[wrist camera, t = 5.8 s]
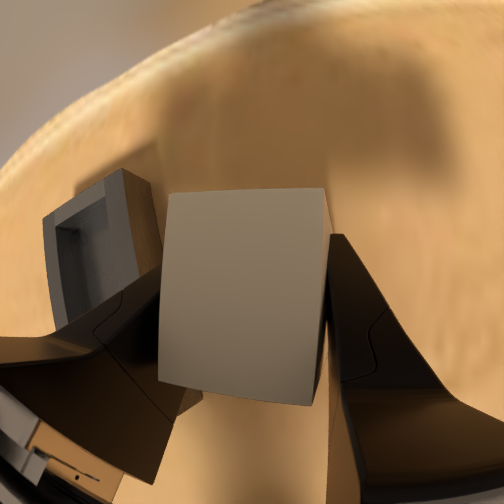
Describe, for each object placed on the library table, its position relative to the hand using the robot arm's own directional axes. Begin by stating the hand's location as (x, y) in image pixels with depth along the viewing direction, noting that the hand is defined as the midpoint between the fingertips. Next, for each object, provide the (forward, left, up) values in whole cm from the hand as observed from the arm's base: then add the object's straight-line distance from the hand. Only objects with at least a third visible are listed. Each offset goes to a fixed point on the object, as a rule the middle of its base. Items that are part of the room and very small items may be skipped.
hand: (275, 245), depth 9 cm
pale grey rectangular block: (-1, +1, -7) cm, 7 cm away
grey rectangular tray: (+8, +8, -7) cm, 14 cm away
